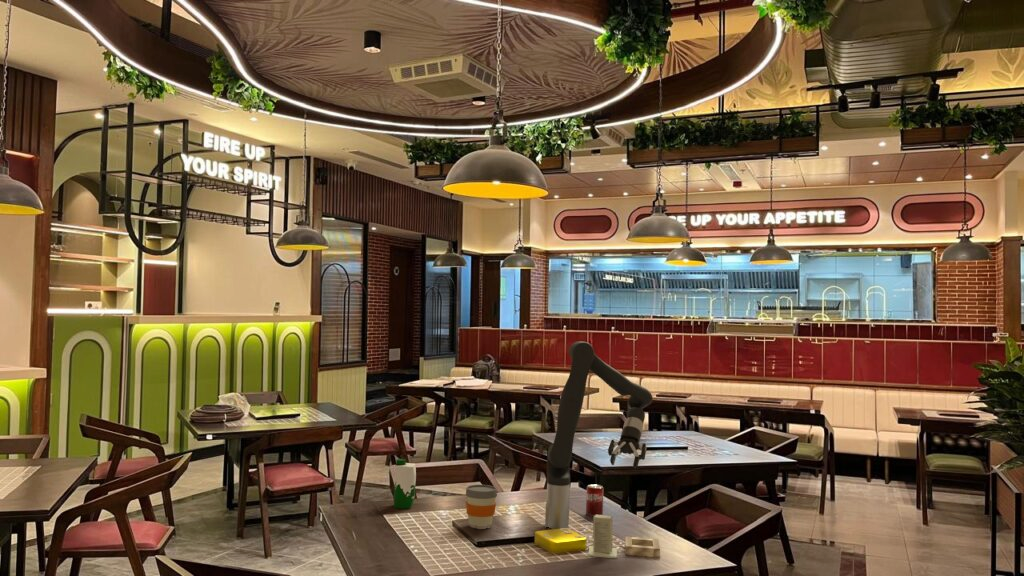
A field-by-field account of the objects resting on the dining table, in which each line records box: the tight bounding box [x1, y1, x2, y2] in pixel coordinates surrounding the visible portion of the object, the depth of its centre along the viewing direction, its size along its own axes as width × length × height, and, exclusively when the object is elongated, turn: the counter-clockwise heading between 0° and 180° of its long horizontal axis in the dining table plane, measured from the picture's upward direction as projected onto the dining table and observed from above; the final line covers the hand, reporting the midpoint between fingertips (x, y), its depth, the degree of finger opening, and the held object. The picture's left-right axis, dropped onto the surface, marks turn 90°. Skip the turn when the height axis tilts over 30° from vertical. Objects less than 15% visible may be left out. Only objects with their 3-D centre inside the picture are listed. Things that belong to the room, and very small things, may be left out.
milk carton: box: [393, 458, 417, 510], centre depth 310 cm, size 9×9×20 cm
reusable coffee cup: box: [465, 484, 498, 526], centre depth 283 cm, size 13×13×15 cm
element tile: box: [534, 527, 587, 554], centre depth 261 cm, size 15×15×5 cm
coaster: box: [587, 545, 618, 559], centre depth 254 cm, size 10×10×1 cm
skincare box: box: [592, 514, 613, 553], centre depth 255 cm, size 6×4×12 cm
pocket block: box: [624, 536, 661, 559], centre depth 258 cm, size 12×12×3 cm
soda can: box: [585, 484, 605, 517], centre depth 308 cm, size 7×7×12 cm
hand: (623, 465), depth 270 cm, fingers open, 8 cm apart
